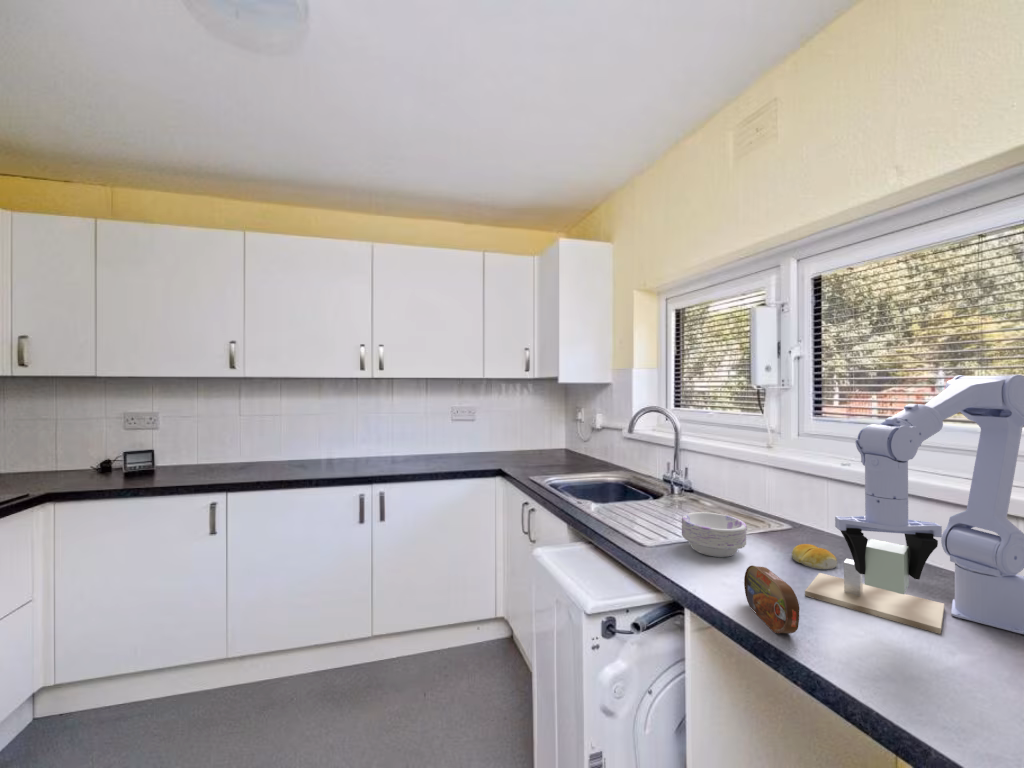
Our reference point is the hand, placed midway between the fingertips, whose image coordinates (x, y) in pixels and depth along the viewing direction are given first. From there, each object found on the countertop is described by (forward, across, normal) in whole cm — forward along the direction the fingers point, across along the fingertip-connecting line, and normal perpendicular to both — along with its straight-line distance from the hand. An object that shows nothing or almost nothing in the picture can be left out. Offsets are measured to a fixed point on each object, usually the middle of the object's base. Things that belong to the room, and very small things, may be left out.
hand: (886, 574), depth 78 cm
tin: (+10, +18, 0) cm, 21 cm away
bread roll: (+11, +1, -32) cm, 33 cm away
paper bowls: (+10, +23, -33) cm, 42 cm away
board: (+10, -3, -12) cm, 16 cm away
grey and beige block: (+10, 0, -14) cm, 17 cm away
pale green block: (+2, 0, 0) cm, 2 cm away
